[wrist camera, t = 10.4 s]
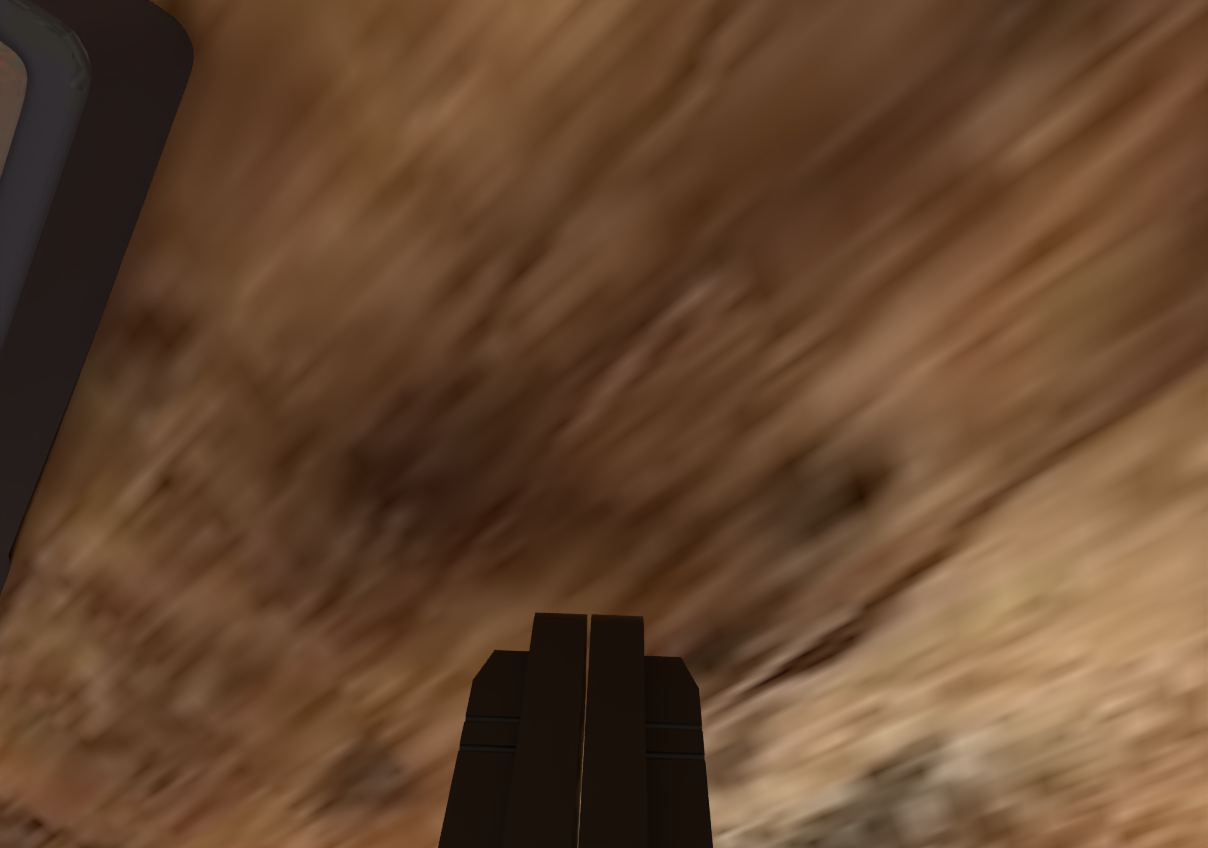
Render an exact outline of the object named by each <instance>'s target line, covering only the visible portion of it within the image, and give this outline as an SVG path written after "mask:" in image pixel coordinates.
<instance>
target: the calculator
mask: <svg viewBox="0 0 1208 848" xmlns="http://www.w3.org/2000/svg"><path fill="white" fill-rule="evenodd" d="M192 64H193V48H192V44H191V41H190V39H189V36H188V34H187V32H186V31H185V29H184V28H183V27H182V25H181V24H180V23H179V22H178V21H177V20H176V19H175V18H174V17H172V16H171V15H170V14H168V13H167V12H166V11H164V10H163V9H161V8H160V7H158V6H157V5H155V4H154V3H152V2H151V1H149V0H0V594H1V592H2V589H3V586H4V584H5V581H6V578H7V575H8V572H9V569H10V566H11V561H10V558H9V556H8V555H9V552H10V549H11V547H12V544H13V542H14V539H15V537H16V534H17V532H18V529H19V526H20V524H21V521H22V519H23V516H24V514H25V511H26V509H27V506H28V504H29V501H30V498H31V496H32V493H33V491H34V488H35V486H36V483H37V481H38V478H39V475H40V473H41V470H42V468H43V465H44V463H45V460H46V458H47V455H48V453H49V450H50V447H51V445H52V442H53V440H54V437H55V435H56V432H57V430H58V427H59V425H60V422H61V419H62V417H63V414H64V412H65V409H66V407H67V404H68V402H69V399H70V396H71V394H72V391H73V389H74V386H75V384H76V381H77V379H78V376H79V374H80V371H81V368H82V366H83V363H84V361H85V358H86V356H87V353H88V351H89V348H90V346H91V343H92V340H93V338H94V335H95V332H96V330H97V327H98V324H99V322H100V319H101V316H102V313H103V311H104V308H105V305H106V303H107V300H108V297H109V294H110V292H111V289H112V286H113V284H114V281H115V278H116V275H117V273H118V270H119V267H120V265H121V262H122V259H123V256H124V254H125V251H126V248H127V246H128V243H129V240H130V237H131V235H132V232H133V229H134V227H135V224H136V221H137V219H138V216H139V213H140V210H141V208H142V205H143V202H144V199H145V197H146V194H147V191H148V189H149V186H150V183H151V180H152V178H153V175H154V172H155V169H156V167H157V164H158V161H159V158H160V156H161V153H162V150H163V147H164V145H165V142H166V139H167V136H168V134H169V131H170V128H171V125H172V123H173V120H174V117H175V115H176V112H177V109H178V106H179V104H180V101H181V98H182V95H183V93H184V90H185V87H186V84H187V82H188V79H189V75H190V72H191V69H192Z"/></svg>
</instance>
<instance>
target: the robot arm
mask: <svg viewBox="0 0 1208 848" xmlns="http://www.w3.org/2000/svg"><path fill="white" fill-rule="evenodd" d="M586 656H587V615H586V614H560V613H535V616H534V622H533V629H532V636H531V643H530V651H529V652H528V651H503V650H494V652H493V653H492V655H491V656H490V657H489V659H488V660H487V661H486V663H485V664H484V666H483V667H482V668H481V670H480V671H479V672H478V674H477V675H476V676H475V678H474V679H473V683H472V687H471V692H470V697H469V702H468V707H467V711H466V720H465V722H464V726H463V731H462V735H461V740H460V749H459V751H458V755H457V759H456V764H455V769H454V774H453V779H452V783H451V788H450V793H449V798H448V803H447V807H446V812H445V817H444V822H443V827H442V831H441V836H440V841H439V846H438V848H577V845H578V828H579V811H580V828H579V845H578V848H713V842H712V831H711V820H710V808H709V797H708V786H707V775H706V764H705V759H704V755H705V752H704V741H703V731H702V719H701V707H700V696H699V688H698V686H697V685H696V683H695V681H694V679H693V678H692V676H691V674H690V672H689V671H688V669H687V667H686V666H685V664H684V662H683V660H682V659H681V657H661V656H644V621H643V616H618V615H592V617H591V633H590V651H589V669H588V686H587V704H586V722H585V698H586ZM584 723H585V739H584ZM583 741H584V757H583ZM582 759H583V775H582ZM581 776H582V792H581ZM580 793H581V810H580Z"/></svg>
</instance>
